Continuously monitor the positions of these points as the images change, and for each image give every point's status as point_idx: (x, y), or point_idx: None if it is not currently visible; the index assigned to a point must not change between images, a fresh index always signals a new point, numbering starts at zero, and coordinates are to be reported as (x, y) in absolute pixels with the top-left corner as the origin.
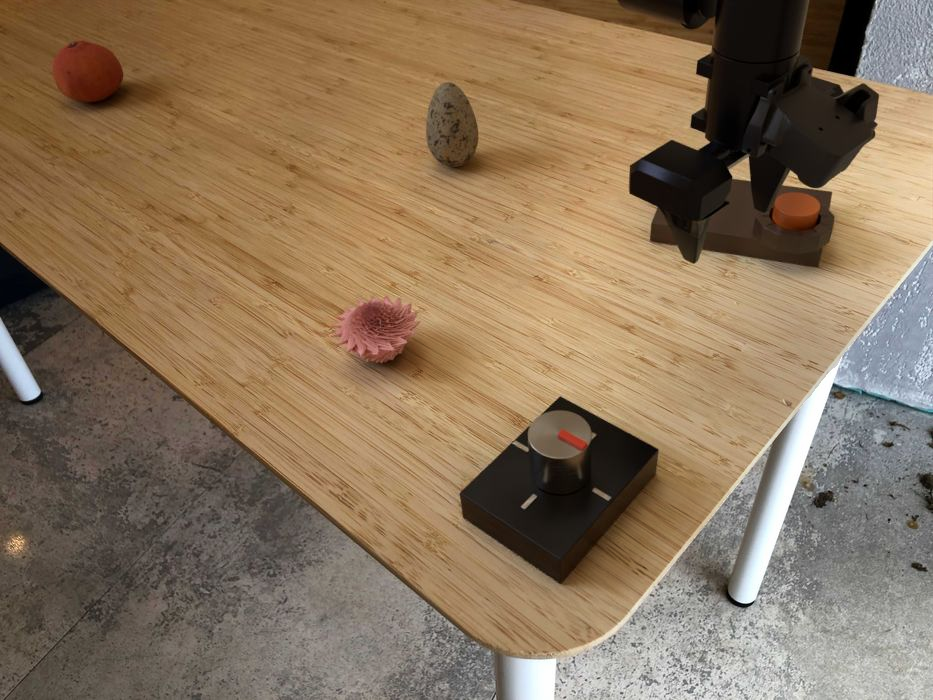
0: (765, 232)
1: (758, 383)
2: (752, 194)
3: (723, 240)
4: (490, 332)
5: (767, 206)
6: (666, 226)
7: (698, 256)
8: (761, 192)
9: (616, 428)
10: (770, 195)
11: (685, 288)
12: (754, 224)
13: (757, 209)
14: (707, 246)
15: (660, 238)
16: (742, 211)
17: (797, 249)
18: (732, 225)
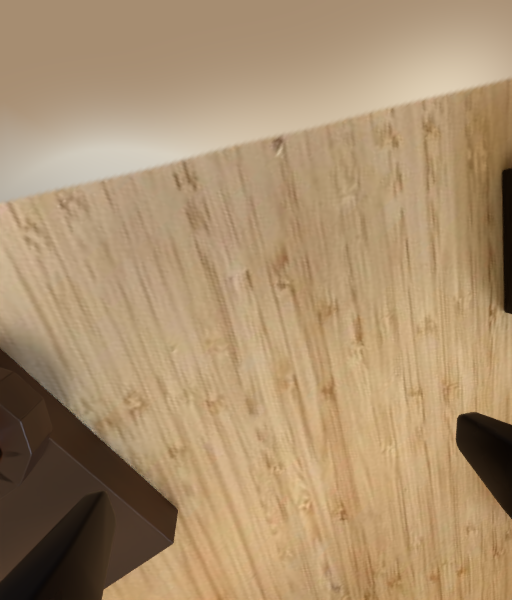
0: (35, 441)
1: (278, 204)
2: (102, 593)
3: (97, 463)
4: (447, 467)
5: (91, 513)
6: (158, 527)
7: (490, 425)
8: (77, 598)
9: None
10: (60, 570)
11: (210, 411)
12: (32, 468)
13: (113, 513)
14: (120, 464)
15: (167, 508)
16: (17, 504)
17: (8, 378)
18: (62, 484)
